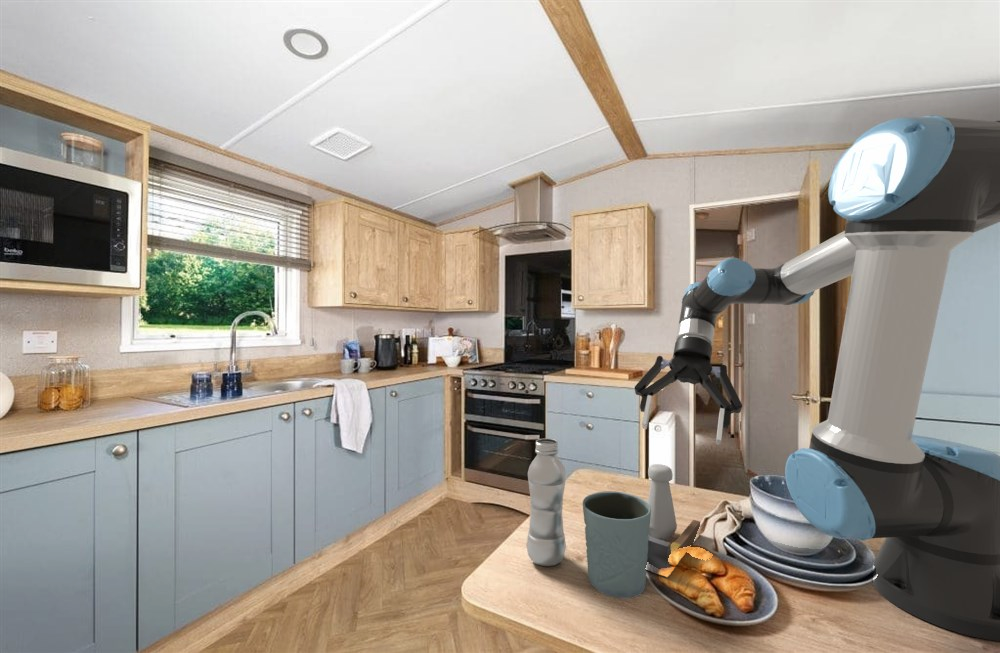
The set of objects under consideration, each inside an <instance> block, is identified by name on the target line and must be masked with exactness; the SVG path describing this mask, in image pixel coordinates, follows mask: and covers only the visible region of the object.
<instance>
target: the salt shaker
mask: <svg viewBox="0 0 1000 653" xmlns="http://www.w3.org/2000/svg"><path fill="white" fill-rule="evenodd" d="M647 474H648V477H649V479H650V480H651V481H650V486H649V491H648V498H647V501H646V502H647V503H648V504H649V505H650V507H651V518H650V527H649V536H651V537H654V538H657V539H660V540H663V541H666V542H667V541H668V540H671V539H672V538H673V537H674V535H675V532H676V531H677V528H678V524H677V520H676V513H675V507H674V502H673V497H672V491H671V485H670V481H672V480H673V470H672V468H670V467H669V466H668V465H664V464H661V463H660V464H659V463H657V464H656V463H655V464H654V463H653V464H650V465H649V466H648V470H647Z"/></svg>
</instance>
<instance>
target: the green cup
mask: <svg viewBox="0 0 1000 653" xmlns="http://www.w3.org/2000/svg"><path fill="white" fill-rule="evenodd" d="M647 502H648V501H646V500H645V499H643V498H641V497H639V496H637V495H634V494H630V493H627V492H623V491H616V490H615V491H613V490H609V491H608V490H606V491H598V492H594V493H590V494H588V495H587V496H585V497H584V498H583V499H582V510H583V521H584V524H585V526H584V527H585V528H584V533H585V547H586V558H587V559H586V562H587V577H588V580H589V582H590V584H591V586H592V587H593V588H594V589H595V590H597V591H598V592H599V593H602V594H604V595H606V596H609V597H612V598H616V599H617V598H618V599H632V598H636V597H638V596H640V595H642V594H643V592H644V591H645V588H646V584H647V582H646V581H647V571H646V569H645V568H646V565H647V559H648V556H647V554H648V540H649V537H648V536H650V535H649V527H650V518H651V507H650V505H649V504H648V503H647Z"/></svg>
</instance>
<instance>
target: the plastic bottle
mask: <svg viewBox="0 0 1000 653" xmlns="http://www.w3.org/2000/svg"><path fill="white" fill-rule="evenodd" d="M558 442H559V441H558V440H557V439H555V438H554V439H553V438H539V439H537V440H535V450H534V452H535V454H536V456H535V457H534V459H533V460H532V461H531V463H530V464H529V467H528V470H527V481H528V488H529V496H530V497H529V498H530V500H529V501H530V502H529V504H530V515H529V516H530V518H529V528H528V534H527V539H526V549H527V550H526V552H527V556H528V557H529V559H530V560H531V561H532V563H534V564H536V565H537V566H542V567H552V566H556V565H558V564H560V563H561V562H562V560H563V559H564V557H565V555H566V550H567V549H566V548H567V542H566V536H565V532H564V520H563V519H564V518H563V508H564V507H563V505H564V504H563V503H564V493H565V487H566V480H567V472H566V467H565V466H564V464H563V462H562V461H561V459H560V458H559V457H558V454H559V448H558V447H559V446H558V445H559V444H558Z"/></svg>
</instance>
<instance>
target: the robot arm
mask: <svg viewBox="0 0 1000 653" xmlns="http://www.w3.org/2000/svg"><path fill="white" fill-rule="evenodd" d="M828 183H829V184H828V190H827V194H828V201H829V204H830V205H831V206H833V208H832V209H833V211H834V212H835V213H836V214H837V215H839V216H840V217H841V218H843V219H845V220H846V224H845V228H844V229H845V230H844V231H842V232H840V233H838V234H836V235H834V236H832V237H830V238H829V239H827V240H825V241H823V242H822V243H819V244H817V245H816V246H814V247H811V248H810V249H808V250H807V251H805V252H803V253H801V254H800V255H798V256H796V257H794V258H792V259H790V260H788V261H786V262H785V263H782V264H780V265H778V266H776V267H774V268H765V267H764V268H762V267H761V268H758V267H756V268H754V267H753V266H752V264H750V263H749V262H747V261H746V260H741V259H740V258H739V257H738V258H737V257H729V258H725V259H723V260H721V261H720V262H719V263H718V264H717V265H716V266H715V267H714V268H712V269H711V270H710V271H709V273H708V274H707V275H706V277H705V278H704V279H703V280H702V281H696V282H694V283H691V284H689V285H688V286H687V287H686V289H685V290H684V293H683V296H682V298H681V299H682V301H681V308H680V314H679V321H678V326H677V332H676V337H675V342H674V348H673V355H672V358H671V359H666V358H663V356H661V355H658V356H657V357H656V360H655V363H654V364H653V365H652V366H651V367H650V369H649V370H648V371H647V372H646V373H645V374H644V375H643V376H642V377H641V379H640V380H639V381H638V382H637V383H636V384H635V386H634V394H635V395H637V396H640V397H641V399H640V404H639V410H640V413H641V412H642V413H643V416H642V422H641V426H642V430H647V429H648V424H649V419H650V413H651V409H652V404H653V398H652V397H653V396H654V395H655V394H657V393H659V392H660V391H661V390H663V389H664V388H667V386H669V385H670V384H673V383H674V382H677V381H679V382H680V383H683V384H684V383H687V384H692V385H697V384H699V385H701V386H702V388H703V389H705V390H706V392H707V393H708V395H709V396H710V397H711V399H713V401H714V402H715V404H716V405H717V406H718V407H719V414H718V422H717V429H716V430H717V431H716V440H715V444H716V445H717V446H721V445H722V439H723V438H722V436H723V429H725V430H726V429H727V430H728V429H729V427H730V425H731V416H732V414H734V413H736V414H740V413H741V412H742V408H743V403H742V402H741V400H740V397H739V395H738V393H737V392H736V390H735V387H734V386H733V383H732V381H731V379H730V378H729V375H728V368H727V365H726V364H720V366H712V364H711V362H712V361H711V360H712V354H713V345H714V337H715V332H716V331H715V330H716V321H717V317H718V315H720V314H721V313H722V312H724V311H725V310H726V309H727V308H728V307H730V306H731V305H733V304H739V305H740V304H741V305H743V304H744V305H746V304H749V305H750V304H756V305H761V304H762V305H784V306H789V305H797V304H803V303H806V302H808V301H809V300H810V298H811V297H812V296H814V293H815V291H818V290H820V289H822V288H824V287H825V288H826V287H827V286H829V285H832V284H833V283H838V282H839V281H841V280H844V279H846V278H848V277H851V281H850V288H849V293H848V297H847V304H846V310H845V317H844V322H843V327H842V328H843V329H842V334H841V340H840V346H839V351H838V355H837V356H838V357H837V362H836V369H835V375H834V382H833V388H832V393H831V398H830V404H829V408H828V409H829V410H828V415H827V416H828V417H827V419H826V420H824V421H822V422H819V423H817V424H815V425H814V426H813V427H812V431H811V437H810V440H809V447H808V448H804V447H803V448H800V449H798V450H795V452H793V453H791V454H790V455H789V456H788V458H787V460H786V462H785V469H784V473H785V474H784V476H785V483H786V487H787V489H788V490H787V491H788V492H789V495H790V497H791V498H792V500H793V502H794V504H795V506H796V508H797V509H798V511H799V512H800V514H801V515H802V516H803V517H804V518H805V520H807V522H809V524H811V525H812V526H813V527H814V528H815V529H817V530H818V531H819V532H821V533H823V534H825V535H827V536H830V537H832V538H835V539H843V540H845V539H846V540H849V539H850V540H857V541H867V540H871V539H884V538H885V539H884V541H883V542H882V545H881V546H880V549H879V551H878V552H877V555H875V556H876V557H875V558H874V560H873V562H874V566H875V568H876V574H878V576H877V578H876V579H875V581H874V582H873V583H872V585H873V587H874V588H875V589H876V590H877V592H878V593H879V594H880V596H883V598H885V599H886V600H887V601H889V602H891V603H892V604H893V605H895V606H897V607H898V608H900V609H901V610H903V611H905V612H907V613H909V614H911V615H912V616H915V617H917V618H919V619H921V620H923V621H926V622H927V623H929V624H933V625H935V626H937V627H940V628H943V629H945V630H949V631H951V632H954V633H958V634H962V635H966V636H969V637H973V638H978V639H983V640H988V641H995V642H996V641H997V642H1000V455H999V454H997V453H995V452H992V451H990V450H988V449H983V448H982V447H981V448H980V447H977V446H973V445H969V444H963V443H960V442H955V441H949V440H945V439H941V438H934V437H931V436H930V437H929V436H923V435H918V434H913V431H914V427H915V422H916V417H917V413H918V408H919V403H920V399H921V395H922V389H923V385H924V384H923V383H924V379H925V375H926V369H927V365H928V360H929V355H930V352H931V347H932V346H931V345H932V342H933V337H934V333H935V328H936V321H937V317H938V313H939V309H940V303H941V298H942V294H943V290H944V285H945V280H946V275H947V271H948V266H949V265H948V264H949V262H950V261H949V260H950V256H951V251H953V249H954V248H955V247H956V246H958V245H960V244H962V243H963V242H965V241H967V240H968V239H970V238H971V237H973V236H974V234H975V233H977V232H979V231H981V230H984V229H987V228H989V227H991V226H993V225H995V224H998V223H1000V120H983V119H972V118H971V119H970V118H969V119H968V118H955V117H954V118H953V117H942V116H939V115H925V116H919V117H917V116H916V117H912V116H910V117H909V116H908V117H906V116H905V117H899V118H898V117H897V118H893V119H889V120H887V121H884V122H882V123H879V124H877V125H875V126H873V127H871V128H870V129H868V130H867V131H865V132H864V133H863V134H861V135H860V136H859V137H858V138H856V140H855V141H854V142H853V144H852V145H851V146H850V147H848V148H846V150H845V151H844V152H843V154H842V155H841V156H840V158H839V160H838V162H837V163H836V165H835V166H834V168H833V171H832V173H831V176H830V180H829V182H828ZM667 367H668V368H669V369H670V370H669V371H668V372H667V373H666V374H665V375H663V376H662V377H660V378H659V379H658V380H656V381H654V380H655V379H656V378H657V377H658V375H659V373H661V371H662V370H665V369H666V368H667ZM712 374H714V375H715V377H716V378H718V379H719V382H720V384H721V386H722V389H723V390H724V393H725V395H726V397H727V399H726V398H725V396H724V395H723V393H722V392H721V391H720V390H719V389H718V388H717V386H716V385H715V384H714V382H713V381H712V379H711V377H710V375H712ZM652 382H653V383H652Z"/></svg>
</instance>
